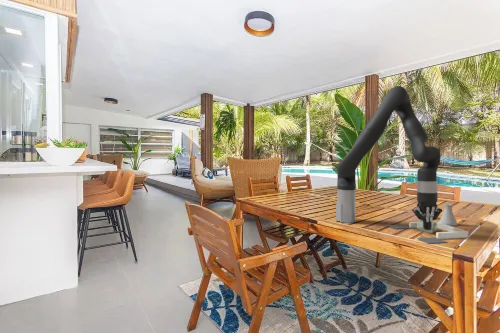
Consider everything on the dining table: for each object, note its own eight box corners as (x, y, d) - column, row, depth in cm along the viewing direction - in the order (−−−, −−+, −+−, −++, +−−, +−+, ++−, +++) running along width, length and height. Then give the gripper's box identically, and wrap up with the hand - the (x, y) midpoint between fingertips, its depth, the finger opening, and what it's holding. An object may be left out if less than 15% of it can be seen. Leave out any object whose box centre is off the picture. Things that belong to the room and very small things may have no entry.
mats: (428, 243, 99) (428, 243, 99) (387, 225, 125) (387, 225, 125) (447, 242, 100) (447, 242, 100) (402, 225, 125) (402, 224, 125)
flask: (435, 222, 128) (435, 203, 128) (448, 222, 129) (448, 202, 129) (447, 226, 121) (447, 206, 121) (461, 226, 122) (461, 205, 121)
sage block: (432, 233, 112) (432, 224, 112) (417, 230, 117) (417, 221, 116) (436, 230, 116) (436, 221, 116) (421, 227, 120) (421, 219, 120)
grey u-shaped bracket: (438, 239, 104) (438, 233, 104) (409, 227, 121) (409, 222, 121) (468, 237, 105) (468, 231, 105) (435, 226, 122) (435, 221, 122)
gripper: (419, 192, 107) (419, 232, 108) (448, 191, 108) (448, 231, 108) (406, 190, 115) (407, 228, 115) (434, 189, 115) (434, 226, 116)
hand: (427, 229), depth 112 cm, fingers closed
